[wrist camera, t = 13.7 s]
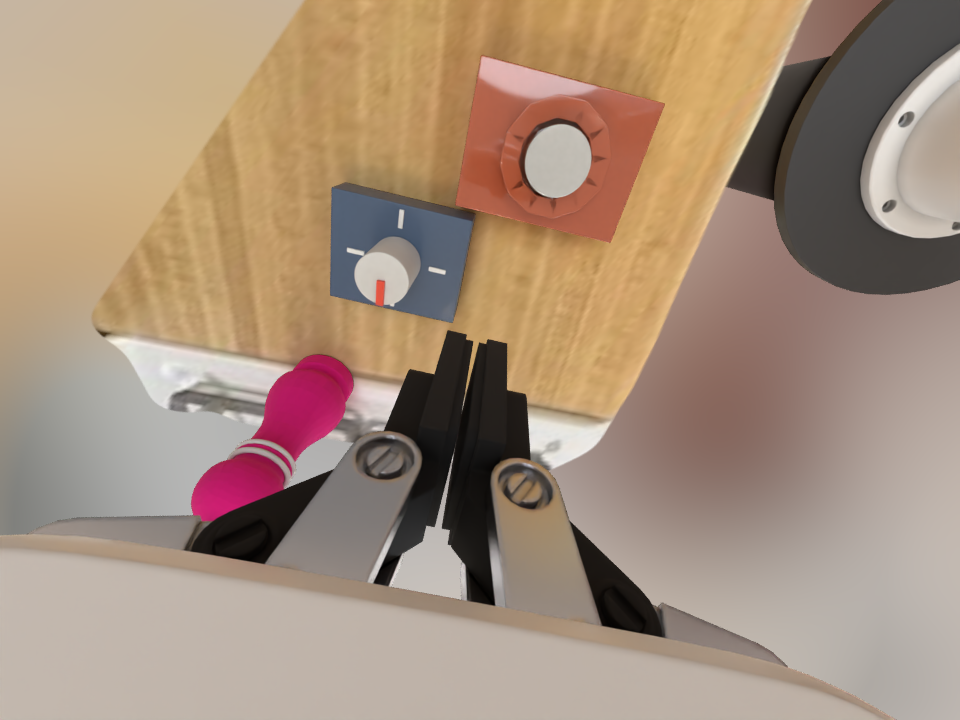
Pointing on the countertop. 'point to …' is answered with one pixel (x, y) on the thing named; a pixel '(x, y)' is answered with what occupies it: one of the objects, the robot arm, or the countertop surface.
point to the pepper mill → (277, 437)
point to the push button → (557, 160)
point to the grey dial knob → (387, 270)
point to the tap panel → (423, 224)
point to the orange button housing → (526, 110)
